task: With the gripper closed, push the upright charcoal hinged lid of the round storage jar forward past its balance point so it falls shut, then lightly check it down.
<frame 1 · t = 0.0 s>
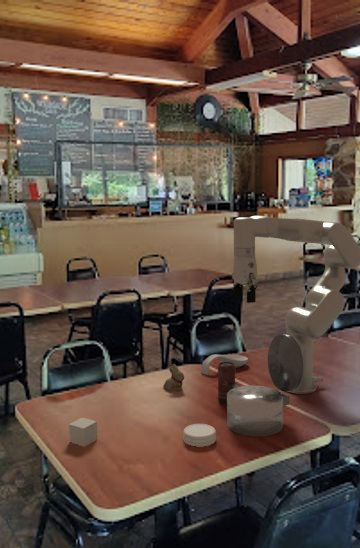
hand: (244, 299, 201), 37 cm above the table, tool pointing down, fingers open, 9 cm apart
can: (227, 401, 204), on the table
round storage jar: (254, 424, 183), on the table
light grey cube: (83, 441, 173), on the table
white short cylinder: (199, 441, 173), on the table
spoon rest: (224, 369, 241), on the table
lid: (287, 362, 185), point 19 cm above the table, hinge at 95.0°
chocolate bunny: (173, 389, 217), on the table
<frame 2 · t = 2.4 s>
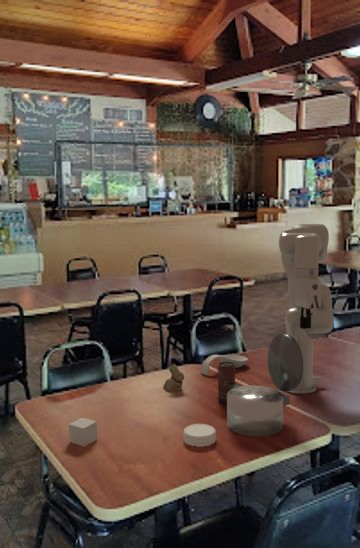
hand: (305, 327, 185), 30 cm above the table, tool pointing down, fingers closed
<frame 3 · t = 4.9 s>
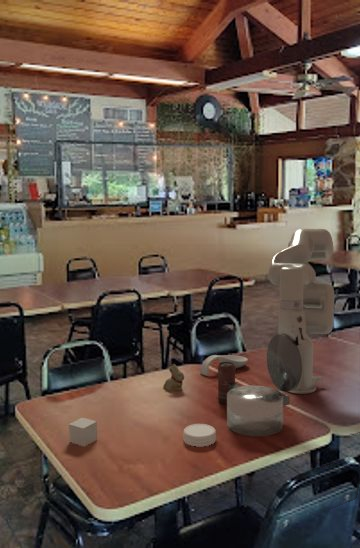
hand: (290, 359, 185), 20 cm above the table, tool pointing down, fingers closed
lid: (286, 362, 184), point 19 cm above the table, hinge at 92.5°, touching gripper
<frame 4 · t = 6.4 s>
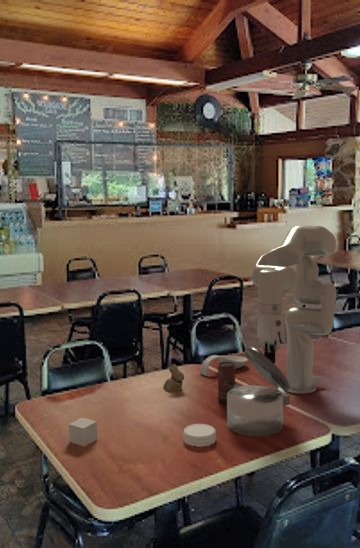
hand: (269, 363, 182), 20 cm above the table, tool pointing down, fingers closed
lid: (269, 367, 182), point 19 cm above the table, hinge at 53.3°
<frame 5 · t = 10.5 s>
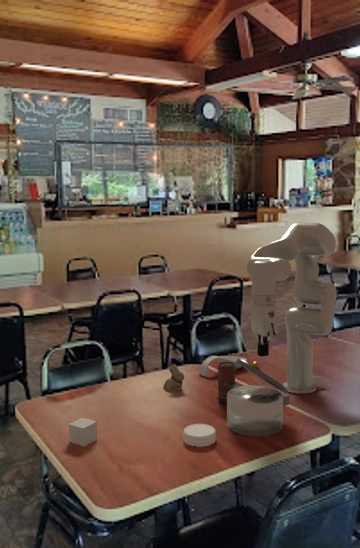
hand: (263, 355, 181), 23 cm above the table, tool pointing down, fingers closed
lid: (262, 372, 182), point 17 cm above the table, hinge at 36.8°
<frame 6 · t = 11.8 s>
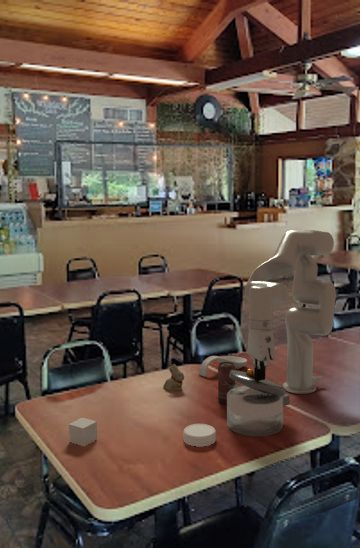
hand: (259, 379, 181), 15 cm above the table, tool pointing down, fingers closed
lid: (258, 379, 181), point 15 cm above the table, hinge at 20.2°, touching gripper
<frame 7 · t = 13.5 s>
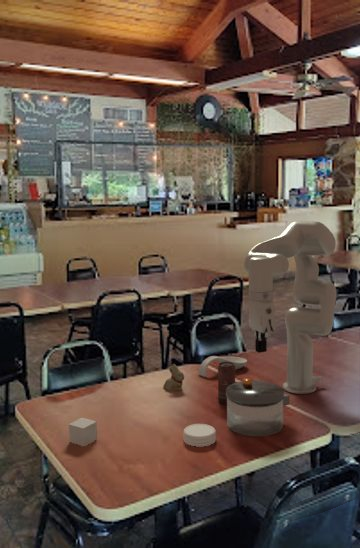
hand: (261, 351, 181), 24 cm above the table, tool pointing down, fingers closed
lid: (254, 389, 181), point 12 cm above the table, hinge at 0.0°, touching round storage jar
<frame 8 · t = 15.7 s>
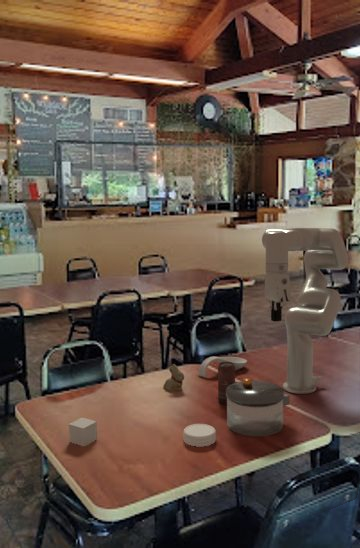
hand: (276, 320, 193), 31 cm above the table, tool pointing down, fingers closed
at the end: lid at +0° (first picture: +95°) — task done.
